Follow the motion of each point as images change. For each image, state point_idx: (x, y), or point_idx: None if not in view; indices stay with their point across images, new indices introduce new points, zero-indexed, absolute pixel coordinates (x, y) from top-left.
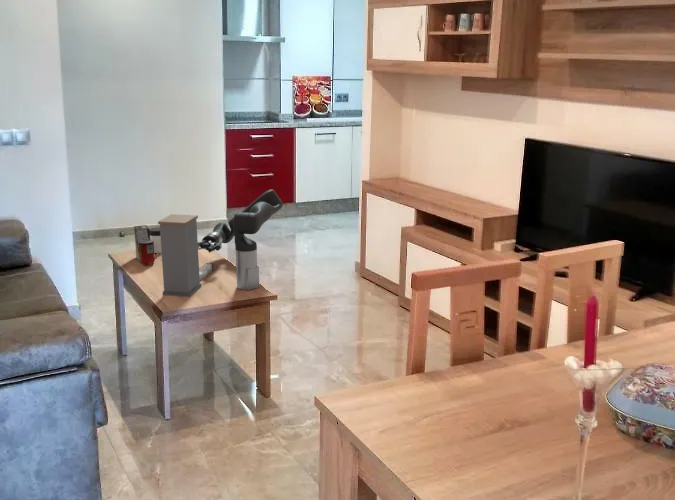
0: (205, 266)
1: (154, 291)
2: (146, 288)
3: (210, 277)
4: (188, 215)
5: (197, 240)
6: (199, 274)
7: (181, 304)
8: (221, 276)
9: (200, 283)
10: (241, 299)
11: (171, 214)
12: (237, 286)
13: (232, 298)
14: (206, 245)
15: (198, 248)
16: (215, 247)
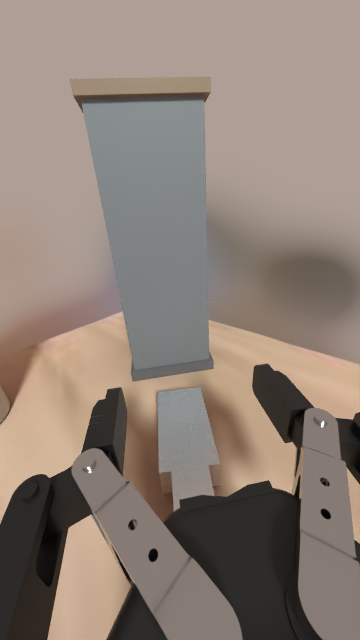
0: None
1: (226, 332)
2: (259, 336)
3: (133, 475)
4: (118, 83)
5: (105, 222)
6: (159, 401)
7: None
8: None
9: (132, 370)
10: (14, 353)
11: (208, 78)
12: (7, 397)
13: (36, 351)
14: (202, 503)
15: (292, 489)
16: (65, 476)
